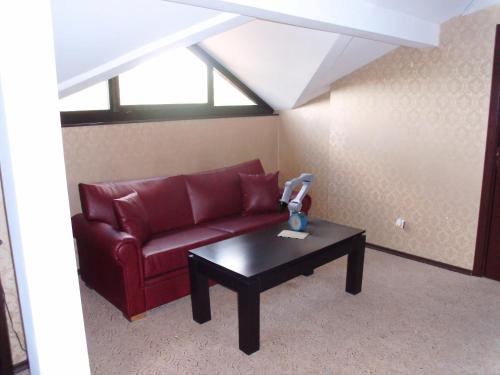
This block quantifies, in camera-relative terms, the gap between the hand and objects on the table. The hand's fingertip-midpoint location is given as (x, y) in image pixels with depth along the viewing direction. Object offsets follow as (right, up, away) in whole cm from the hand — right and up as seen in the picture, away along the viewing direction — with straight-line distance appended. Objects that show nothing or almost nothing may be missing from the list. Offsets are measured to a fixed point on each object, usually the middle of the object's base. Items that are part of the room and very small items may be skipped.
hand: (281, 212), depth 319 cm
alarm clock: (+12, -14, -8) cm, 20 cm away
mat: (+8, -16, -17) cm, 25 cm away
